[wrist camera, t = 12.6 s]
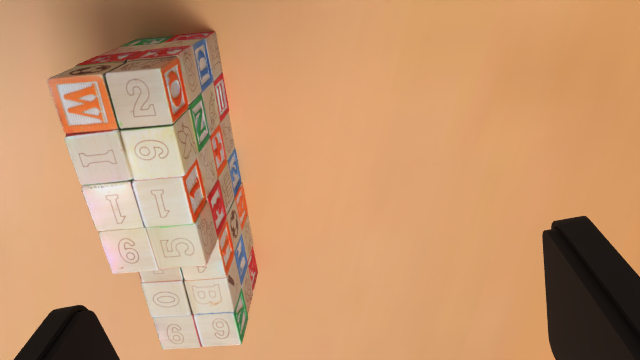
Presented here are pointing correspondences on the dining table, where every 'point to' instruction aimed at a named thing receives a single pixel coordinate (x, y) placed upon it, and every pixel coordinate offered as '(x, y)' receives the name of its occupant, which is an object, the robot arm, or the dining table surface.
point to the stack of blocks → (165, 181)
